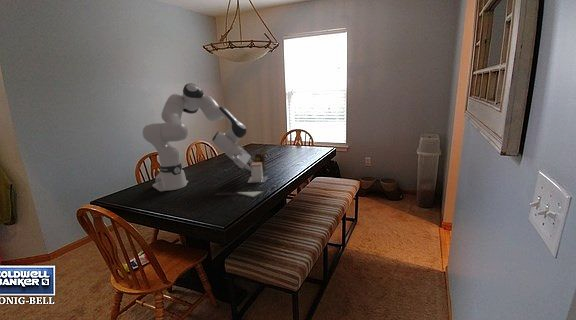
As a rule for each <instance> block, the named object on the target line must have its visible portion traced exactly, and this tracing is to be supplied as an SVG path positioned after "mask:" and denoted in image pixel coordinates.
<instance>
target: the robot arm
mask: <svg viewBox="0 0 576 320" xmlns="http://www.w3.org/2000/svg"><path fill="white" fill-rule="evenodd" d="M199 109H200V110H201V111H202V113H203V115H204V116H205V118H206V119H207V120H208V121H210V122H219V121H221V120H223V119H224V118H225V120H226V121H228V123H229V124H230V126H229V128H228V129H227V130H226V132H221V131H217V132H216V133H215V135H214V136H213V137H212V140H211V141H212V143H213V144H214V146H216V147H217V149H219V150H220V151H222V152H224V154H225V155H226V156H227V157H228V158H230V159H231V160H232V161H233V162H234V164H235V165H237V166H238V168H240V169H241V170H243V169H244V168H245V170H248V171H250V172H251V170H252V167H251V164H252V163H254V161H253V160H252V159H251V158H252V156H251V154H249V152H248V151H246V150H245V149H244V147H243V146H241V145H238V143H239V142H240V141H241V139H242V138H243V137H244V136H246V135H247V126H246V125H245V124H244V123H243V122H241V120H239V119H238V118H237V117H236V116H235V115H234V114H233V113H232V112H231V111H230V110H229V109H227V108H226V107H225V106H220V104H218V103H217V101H216V100H215V99H214V98H213V97H212V96H211V95H209V94H206V95H205V94H204V90H202V89H201V87H199V86H198V85H197V84H195V83H193V82H192V83H190V82H189V83H186V84H185V85H184V87H183V88H182V95H180V94H177V93H174V94H171V95H170V96H168V98H167V99H166V101H165V103H164V106H163V108H162V111H161V119H162V121H164V122H161V123H160V122H159V123H150V124H146V125H145V126H144V127H143V129H142V136H143V139H144V140H145V141H146V142H149V144H151V145H152V146H153V147H154V149H155V150H156V152H157V154H158V158H159V163H160V165H159V173H157V175H156V176H155V179H154V182H155V183H153V184H152V187H153V188H154V189H156V190H157V191H159V192H165V191H175V190H179V189H182V188H185V187H186V186H187V184H188V183H189V180H187V178H186V174H185V171H184V170H183V165H182V162H181V158H180V151H179V150H178V149H177V148H175V146H174V147H173V146H172V145H171V144H170V143H169V142H171V143H172V142H180V141H183V140H186V139H187V137H188V135H189V130H188V126H187V125H186V124H185V123H183V122H182V121H181V120H182V116H183V112H184V113H187V114H190V115H191V114H196V113H197V112H198V111H199ZM248 164H250V166H249V165H248Z"/></svg>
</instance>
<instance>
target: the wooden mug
mask: <svg viewBox="0 0 576 320" xmlns="http://www.w3.org/2000/svg"><path fill="white" fill-rule="evenodd" d="M267 153H268V147H267V146H264V147H262V148H261V149H260V150H259V153H256V154H254V157H253V163H256V162H262V169H263V171H266V170H267V167H266V163H265V162H266V156H265V154H267Z"/></svg>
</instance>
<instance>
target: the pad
mask: <svg viewBox="0 0 576 320" xmlns="http://www.w3.org/2000/svg"><path fill="white" fill-rule="evenodd" d="M265 192H267V190H247V191H246V190H245V191H242V190H241V191H236V193H237V194H239V195H242V196H247V197H251V198H255V197H257V196H259V195H261V194H263V193H265Z"/></svg>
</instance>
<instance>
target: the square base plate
mask: <svg viewBox="0 0 576 320" xmlns="http://www.w3.org/2000/svg"><path fill="white" fill-rule="evenodd" d="M267 180H268V175H265V176H264V175H263V179H262V181H252V176H250V177H249V179H248V181H247V182H246V183H249V184H250V183H252V184H253V183H266V182H267Z"/></svg>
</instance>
